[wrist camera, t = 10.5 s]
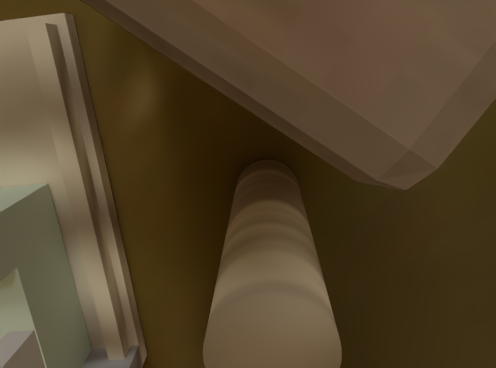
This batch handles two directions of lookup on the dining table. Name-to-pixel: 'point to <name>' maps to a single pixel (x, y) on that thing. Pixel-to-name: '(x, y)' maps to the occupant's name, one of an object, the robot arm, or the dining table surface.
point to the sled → (39, 278)
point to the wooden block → (338, 71)
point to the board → (68, 175)
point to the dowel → (270, 281)
